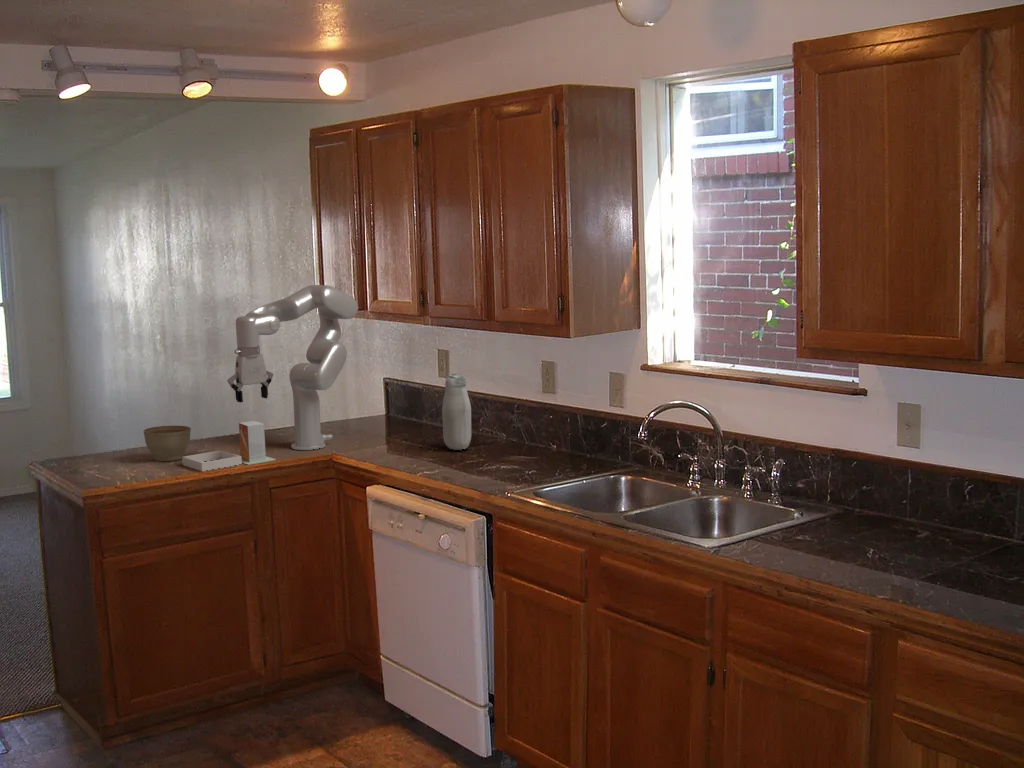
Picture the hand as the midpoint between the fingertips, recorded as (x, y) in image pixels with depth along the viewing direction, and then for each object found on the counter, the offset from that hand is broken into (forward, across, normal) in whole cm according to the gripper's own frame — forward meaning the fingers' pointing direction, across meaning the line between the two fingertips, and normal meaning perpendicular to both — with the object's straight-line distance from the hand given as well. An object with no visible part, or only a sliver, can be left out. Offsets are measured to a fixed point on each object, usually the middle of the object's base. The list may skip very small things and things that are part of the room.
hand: (252, 399), depth 379 cm
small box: (+21, -2, 0) cm, 21 cm away
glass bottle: (+23, +60, -39) cm, 75 cm away
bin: (+21, -15, +4) cm, 26 cm away
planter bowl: (+21, -21, +25) cm, 39 cm away
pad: (+22, -1, 0) cm, 22 cm away
